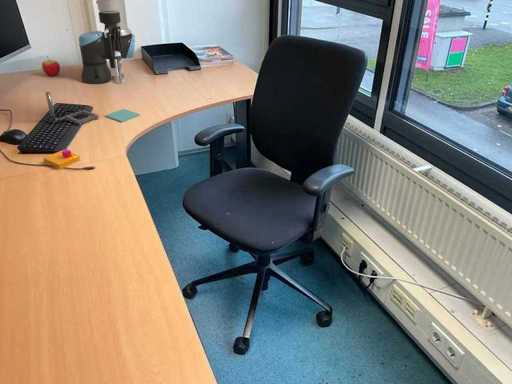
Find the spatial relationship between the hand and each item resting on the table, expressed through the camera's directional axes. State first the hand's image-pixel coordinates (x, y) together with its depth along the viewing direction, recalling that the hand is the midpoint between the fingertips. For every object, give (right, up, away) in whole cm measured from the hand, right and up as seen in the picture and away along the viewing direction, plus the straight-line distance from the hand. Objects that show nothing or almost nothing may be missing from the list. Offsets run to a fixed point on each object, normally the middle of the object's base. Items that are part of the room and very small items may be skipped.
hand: (117, 73), depth 168 cm
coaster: (-1, -15, +9) cm, 18 cm away
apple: (-52, +14, +53) cm, 76 cm away
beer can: (0, -3, +2) cm, 4 cm away
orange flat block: (-9, -38, -26) cm, 47 cm away
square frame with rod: (-19, -18, +3) cm, 27 cm away
